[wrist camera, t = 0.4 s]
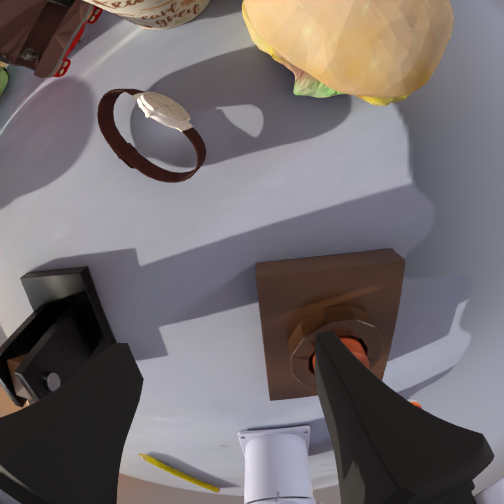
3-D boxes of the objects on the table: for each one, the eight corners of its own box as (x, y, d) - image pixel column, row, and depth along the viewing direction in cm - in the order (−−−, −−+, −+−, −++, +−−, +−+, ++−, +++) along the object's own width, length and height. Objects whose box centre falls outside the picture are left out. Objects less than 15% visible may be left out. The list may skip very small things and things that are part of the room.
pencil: (220, 492, 34) (215, 493, 34) (220, 487, 35) (215, 488, 35) (139, 455, 29) (135, 456, 29) (140, 449, 30) (136, 451, 30)
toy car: (93, -6, 8) (117, 14, 12) (-36, -25, 1) (-2, -17, 5) (34, 97, 10) (70, 91, 14) (-74, 52, 3) (-37, 48, 7)
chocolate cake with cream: (226, 139, 16) (219, 138, 13) (180, 197, 18) (163, 210, 14) (137, 74, 14) (112, 62, 11) (97, 132, 16) (67, 132, 12)
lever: (88, 471, 15) (71, 488, 12) (63, 462, 15) (46, 477, 12) (48, 356, 16) (22, 365, 13) (25, 352, 16) (0, 360, 13)
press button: (358, 368, 18) (365, 385, 17) (311, 376, 19) (315, 394, 17) (364, 331, 17) (373, 348, 16) (312, 339, 17) (317, 357, 16)
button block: (374, 367, 23) (387, 397, 20) (268, 382, 24) (270, 417, 20) (392, 248, 19) (418, 271, 15) (255, 262, 19) (256, 291, 16)
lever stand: (126, 362, 23) (89, 445, 14) (65, 357, 23) (23, 422, 14) (87, 265, 19) (12, 339, 10) (27, 272, 20) (-40, 329, 11)
